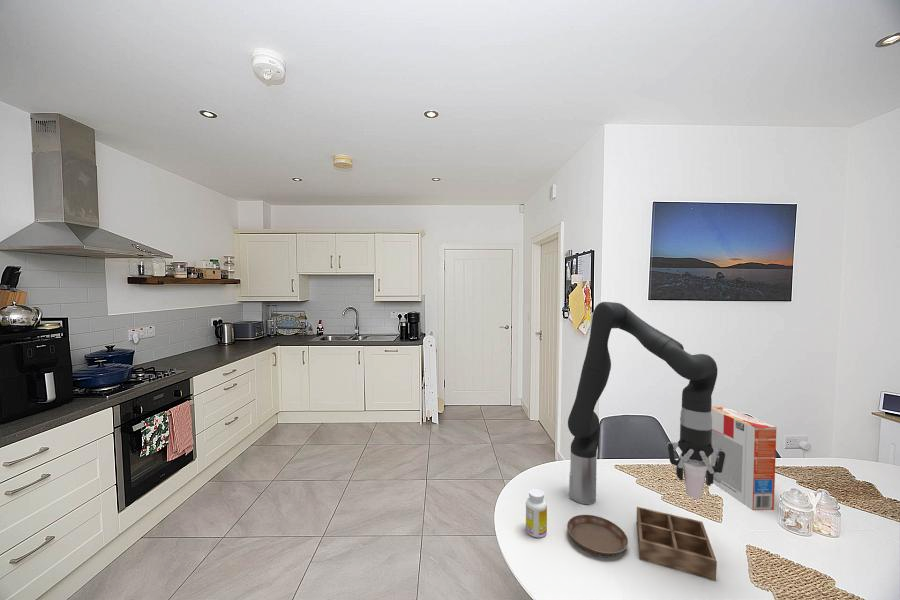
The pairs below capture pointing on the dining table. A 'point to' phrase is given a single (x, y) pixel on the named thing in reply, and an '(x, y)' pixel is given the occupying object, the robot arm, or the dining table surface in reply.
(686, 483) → the smoothie
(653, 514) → the bottle caddy
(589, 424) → the robot arm
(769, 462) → the white and orange box
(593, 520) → the plant saucer
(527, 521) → the supplement bottle
